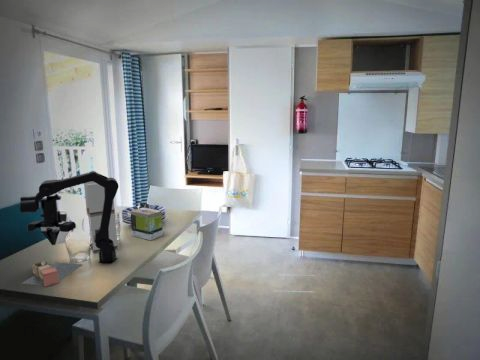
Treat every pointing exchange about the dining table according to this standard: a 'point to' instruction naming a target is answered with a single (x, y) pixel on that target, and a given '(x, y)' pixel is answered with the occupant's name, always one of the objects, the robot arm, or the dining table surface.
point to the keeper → (50, 276)
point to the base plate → (61, 268)
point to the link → (40, 268)
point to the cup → (62, 235)
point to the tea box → (146, 223)
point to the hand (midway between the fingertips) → (53, 244)
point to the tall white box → (98, 212)
